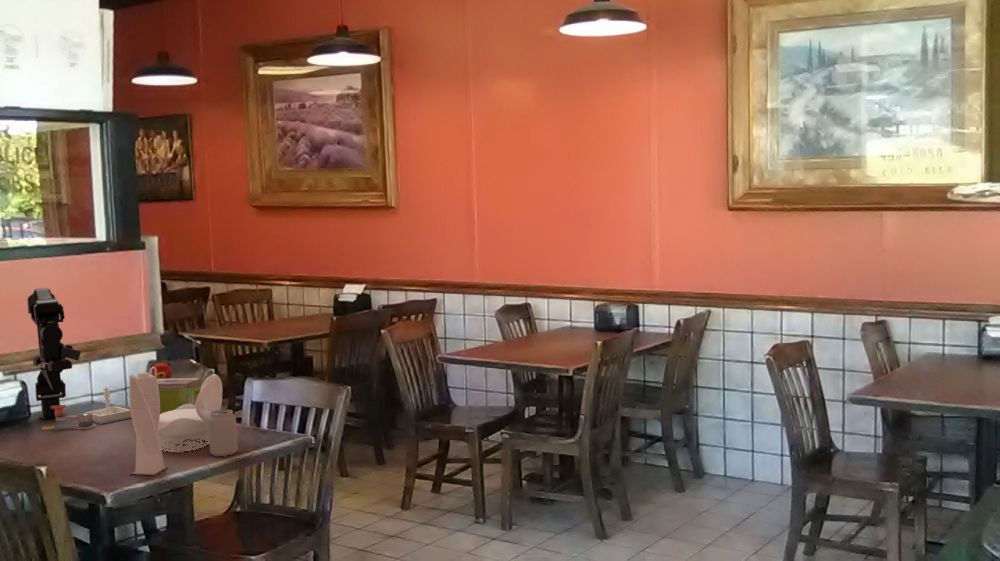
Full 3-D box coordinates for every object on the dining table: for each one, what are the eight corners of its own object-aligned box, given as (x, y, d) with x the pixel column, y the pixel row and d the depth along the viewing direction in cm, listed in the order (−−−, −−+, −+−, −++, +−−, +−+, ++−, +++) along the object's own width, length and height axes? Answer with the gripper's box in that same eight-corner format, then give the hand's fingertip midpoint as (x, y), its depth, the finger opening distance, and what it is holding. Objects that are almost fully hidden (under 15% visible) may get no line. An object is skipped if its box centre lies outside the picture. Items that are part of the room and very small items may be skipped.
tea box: (205, 423, 328) (202, 376, 326) (190, 431, 318) (187, 383, 316) (161, 423, 330) (157, 377, 329) (145, 430, 320) (141, 383, 319)
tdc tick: (53, 428, 328) (53, 425, 328) (52, 429, 327) (52, 426, 327) (43, 429, 328) (43, 426, 328) (42, 430, 327) (42, 427, 327)
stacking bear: (144, 422, 332) (140, 367, 331) (148, 415, 342) (144, 361, 341) (180, 419, 335) (176, 364, 333) (183, 412, 345) (179, 359, 343)
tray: (85, 419, 339) (85, 412, 339) (116, 413, 347) (115, 406, 347) (100, 424, 332) (100, 416, 332) (132, 417, 340) (131, 410, 339)
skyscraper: (173, 468, 276) (165, 364, 273) (157, 477, 268) (149, 369, 265) (144, 467, 278) (136, 364, 275) (127, 476, 270) (119, 369, 267)
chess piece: (102, 416, 341) (100, 386, 340) (118, 415, 342) (115, 385, 341) (98, 419, 337) (96, 389, 336) (114, 418, 337) (112, 388, 336)
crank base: (71, 427, 329) (71, 426, 329) (91, 423, 333) (91, 422, 333) (80, 430, 324) (80, 429, 324) (100, 426, 329) (100, 425, 329)
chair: (158, 440, 308) (153, 373, 306) (227, 434, 312) (223, 368, 310) (150, 457, 288) (145, 386, 286) (224, 450, 292) (219, 380, 290)
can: (242, 450, 292) (239, 408, 291) (232, 457, 285) (229, 414, 283) (216, 450, 293) (213, 408, 292) (206, 457, 285) (203, 414, 284)
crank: (95, 422, 331) (93, 402, 330) (90, 426, 327) (88, 405, 326) (55, 424, 331) (54, 404, 330) (50, 428, 326) (48, 407, 325)
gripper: (87, 339, 322) (91, 389, 323) (66, 334, 336) (70, 382, 338) (49, 344, 315) (54, 395, 316) (30, 339, 329) (34, 387, 330)
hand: (54, 389), depth 325 cm, fingers closed
